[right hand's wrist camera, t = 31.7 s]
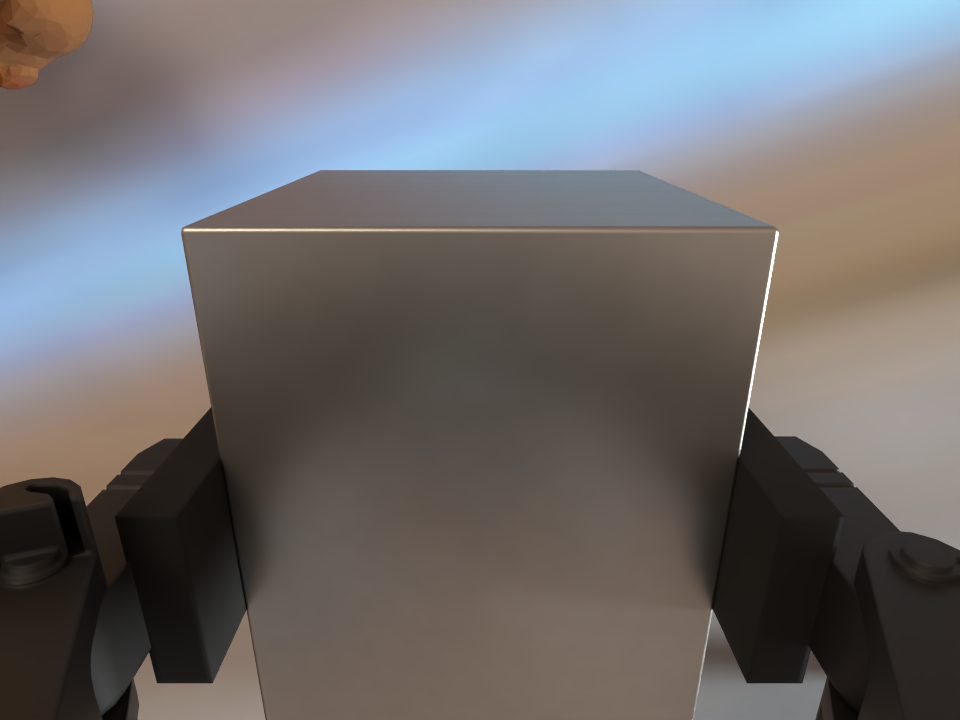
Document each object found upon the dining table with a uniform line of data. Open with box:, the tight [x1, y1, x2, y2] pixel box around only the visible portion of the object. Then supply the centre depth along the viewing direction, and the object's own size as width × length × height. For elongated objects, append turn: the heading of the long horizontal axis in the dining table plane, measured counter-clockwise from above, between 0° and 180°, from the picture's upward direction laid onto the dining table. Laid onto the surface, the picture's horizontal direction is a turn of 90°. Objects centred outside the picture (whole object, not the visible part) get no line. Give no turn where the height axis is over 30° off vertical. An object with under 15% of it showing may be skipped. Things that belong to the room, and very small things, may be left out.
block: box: [181, 170, 779, 720], centre depth 13 cm, size 7×9×7 cm
